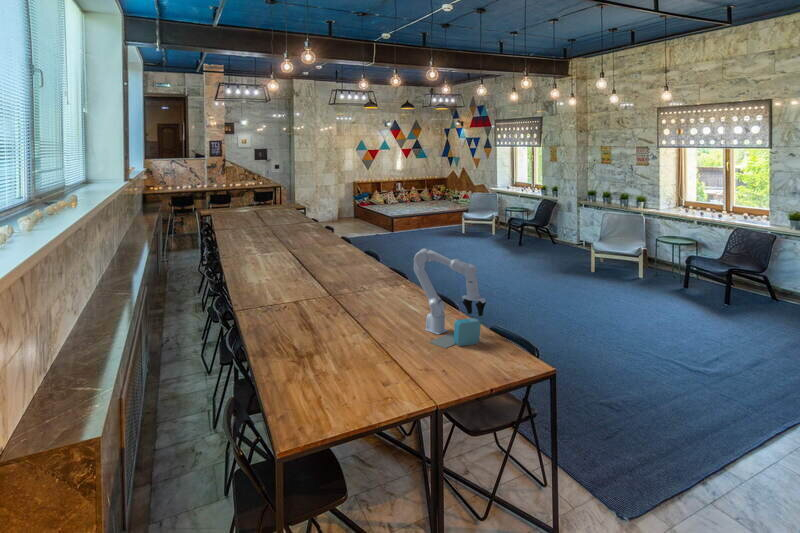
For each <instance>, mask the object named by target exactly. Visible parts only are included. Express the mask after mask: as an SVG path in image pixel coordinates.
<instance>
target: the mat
mask: <svg viewBox="0 0 800 533" xmlns="http://www.w3.org/2000/svg"><path fill="white" fill-rule="evenodd" d="M428 343H429V344H431V345H435V346H437V347H441V348H443V349H445V348H446V349H448V348H450V347H453V346H454V345H457V344H456V343H455V342H454V331H452V332H449V333H447V334H445V335H442V336H440V337H438V338H435V339H433V340H429V341H428Z"/></svg>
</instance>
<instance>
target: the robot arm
mask: <svg viewBox="0 0 800 533" xmlns="http://www.w3.org/2000/svg"><path fill="white" fill-rule="evenodd" d="M427 262H428V263H430V262H437V263H441V264H443V265H445V266H449V268H450V270H452V271H455V272H456V273H459V274H461V275H464V277H465V288H466V295H461V297H462V298H461V299H462V304H463V306H464V307H465V309H466V312H467V314H468V315H470V314H472V313H473V302H475V306H476V309H477V315H478V317H482V316H483V314H484V309H485V306H486V304H487V302H486V298H485V297H481V295H480V294H479V285H478V283H479V282H478V279H477V278H478V277H477V274H476V273H477V272H478V271H477V270H478V269H477V267H476V265H474V264H472V263H468V262H467V263H466V262H464V261H462V260H461V259H460V258H455V259H450V258H449V257H446V256H445V255H442V254H440V253H439V252H436V251H434V250H433V249H428V248H425V247H424V248H421V249H420V250H418V252H417V253H415V255H414V257H413V269H412V270H413V272H414V274H415V276H416V277H417V280H418V281H419V283H420V286H421V289H423V292H424V293H425V296H426V298H427V299H428V300H427V301H428V306H429V307H430V308H429V309H430V312H429V313H428V314H427V315H426V319H425V320H426V321H425V322H426V323H425V329H424V330H425V331H426V332H430V333H433V334H435V335H441V334H443V333H447V332H448V331H449V330H448V329H446V328H445V325H446V314H445V309H446V306H447V305H446V303H445V302H444V301H443V300H442V299H441V297H440V296H439V295H438V294H437V291H436V289H435V288H434V285H433V284H432V282H431V280H430V278H429V275H428V273H427V272H426V270H425V267H426V264H427Z"/></svg>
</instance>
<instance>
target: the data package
mask: <svg viewBox="0 0 800 533" xmlns="http://www.w3.org/2000/svg"><path fill="white" fill-rule="evenodd" d="M481 325H482V323H481V321H480V320H479V319H477V318H476V317H471V318H463V319H457V320H455V322H454V328H453V330H454V331H453V332H454V342H455V343H456V344H455V345H457V346H459V347H464V346H472V345H478V344H479V343H480V337H481Z"/></svg>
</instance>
